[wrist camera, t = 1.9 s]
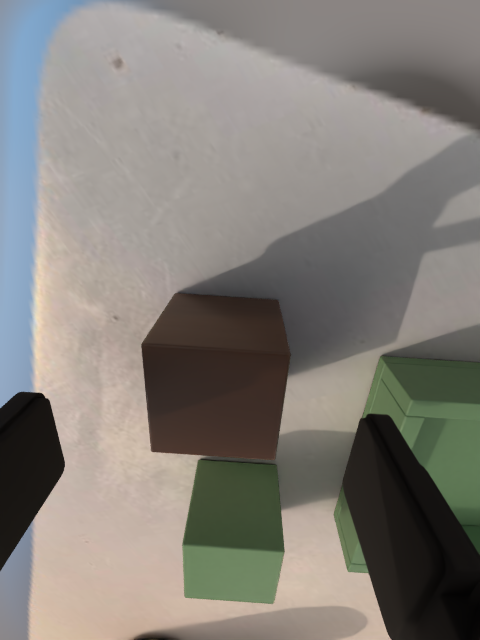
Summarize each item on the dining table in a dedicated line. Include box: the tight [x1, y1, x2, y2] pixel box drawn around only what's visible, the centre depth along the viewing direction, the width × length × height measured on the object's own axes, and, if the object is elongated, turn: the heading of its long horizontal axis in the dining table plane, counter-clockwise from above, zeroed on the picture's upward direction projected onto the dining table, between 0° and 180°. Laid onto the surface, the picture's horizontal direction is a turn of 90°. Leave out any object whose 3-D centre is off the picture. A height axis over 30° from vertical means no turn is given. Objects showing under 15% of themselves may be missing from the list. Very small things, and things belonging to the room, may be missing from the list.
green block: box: [182, 460, 285, 604], centre depth 16 cm, size 4×4×4 cm
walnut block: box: [141, 293, 291, 460], centre depth 12 cm, size 4×4×4 cm
